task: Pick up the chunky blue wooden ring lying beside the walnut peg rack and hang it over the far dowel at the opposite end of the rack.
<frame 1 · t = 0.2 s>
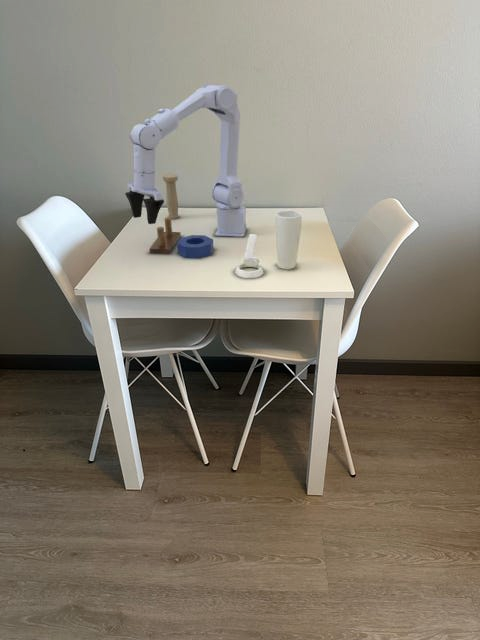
hand: (144, 220, 135), 10 cm above the table, tool pointing down, fingers open, 7 cm apart
rack: (166, 244, 146), on the table
handle: (173, 218, 169), on the table
hook: (249, 273, 128), on the table
drinking glass: (286, 266, 131), on the table
ring: (196, 251, 141), on the table
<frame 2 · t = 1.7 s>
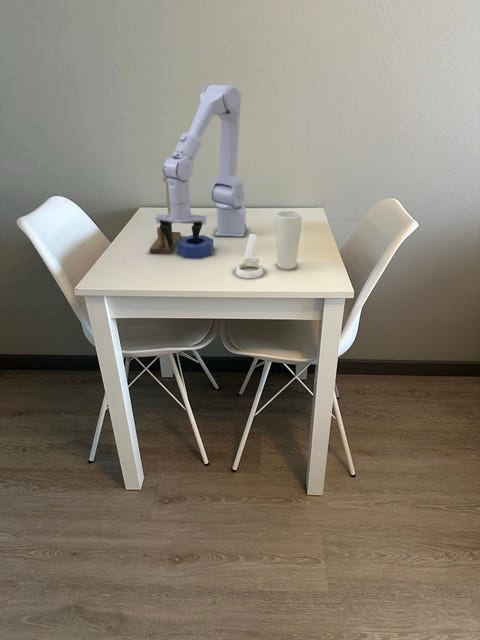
hand: (183, 246, 140), 2 cm above the table, tool pointing down, fingers open, 7 cm apart
nothing on the table moved.
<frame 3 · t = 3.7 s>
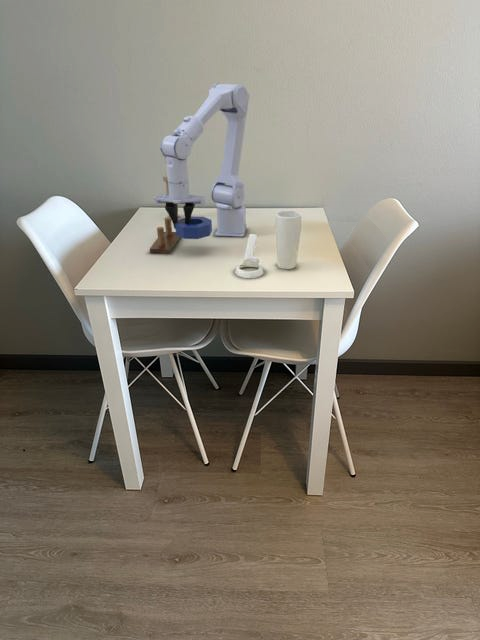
hand: (181, 228, 138), 7 cm above the table, tool pointing down, fingers closed on ring, 3 cm apart
ring: (194, 232, 138), point 6 cm above the table, touching gripper
everything else where it was.
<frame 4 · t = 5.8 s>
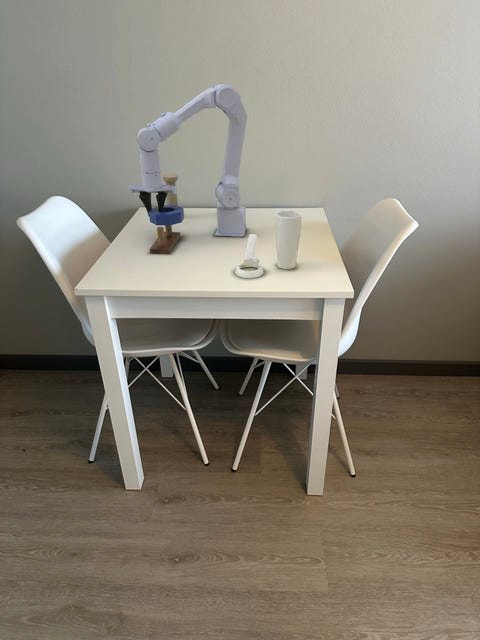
hand: (155, 215, 147), 8 cm above the table, tool pointing down, fingers closed on ring, 3 cm apart
ring: (167, 220, 147), point 6 cm above the table, touching gripper
everything else where it was.
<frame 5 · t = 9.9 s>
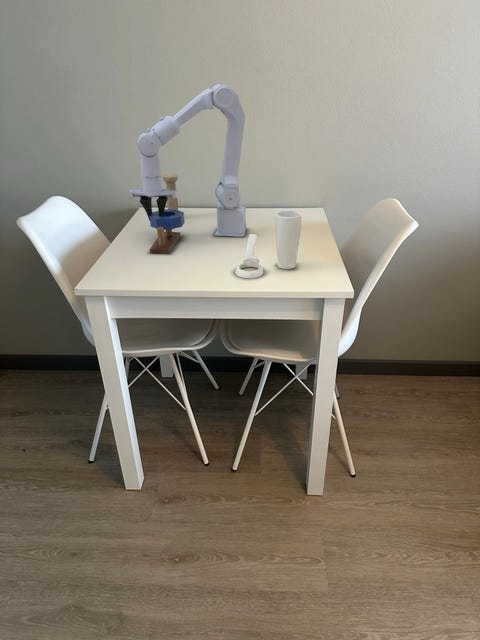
hand: (156, 220, 147), 6 cm above the table, tool pointing down, fingers closed on ring, 3 cm apart
ring: (167, 224, 148), point 5 cm above the table, touching gripper
everything else where it was.
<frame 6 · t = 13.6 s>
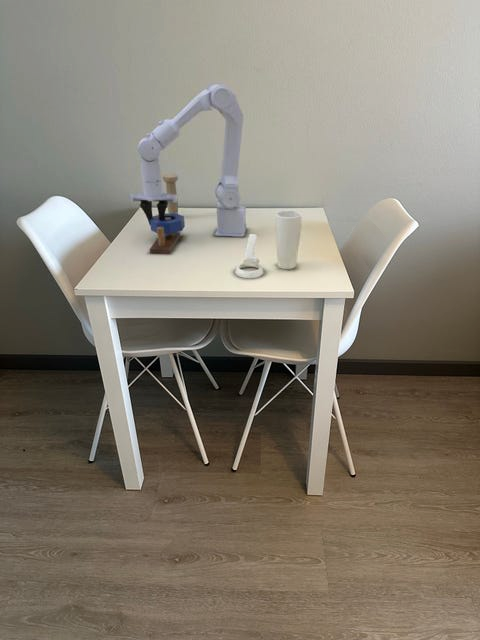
hand: (156, 224, 148), 5 cm above the table, tool pointing down, fingers closed on ring, 3 cm apart
ring: (168, 228, 148), point 4 cm above the table, touching gripper
everything else where it was.
when the fingers open (8 cm above the table, at t = 17.2 s): ring drops 5 cm, resting on rack.
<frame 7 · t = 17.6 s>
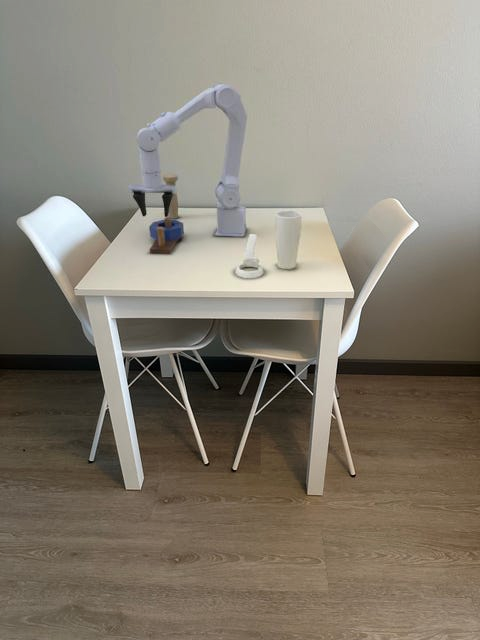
hand: (155, 215, 147), 8 cm above the table, tool pointing down, fingers open, 6 cm apart
ring: (167, 235, 149), point 1 cm above the table, touching rack
everything else where it was.
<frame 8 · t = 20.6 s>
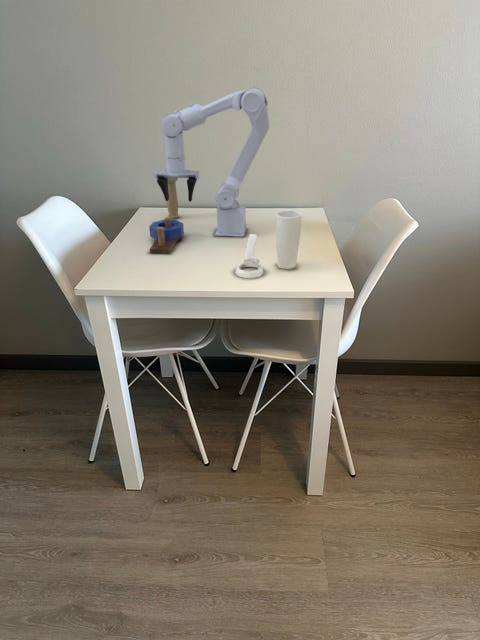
hand: (178, 200, 151), 10 cm above the table, tool pointing down, fingers open, 7 cm apart
nothing on the table moved.
at the end: ring 0.6 cm from the target spot on the rack, point 1.5 cm above the rack's base; ring tilted 0° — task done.
